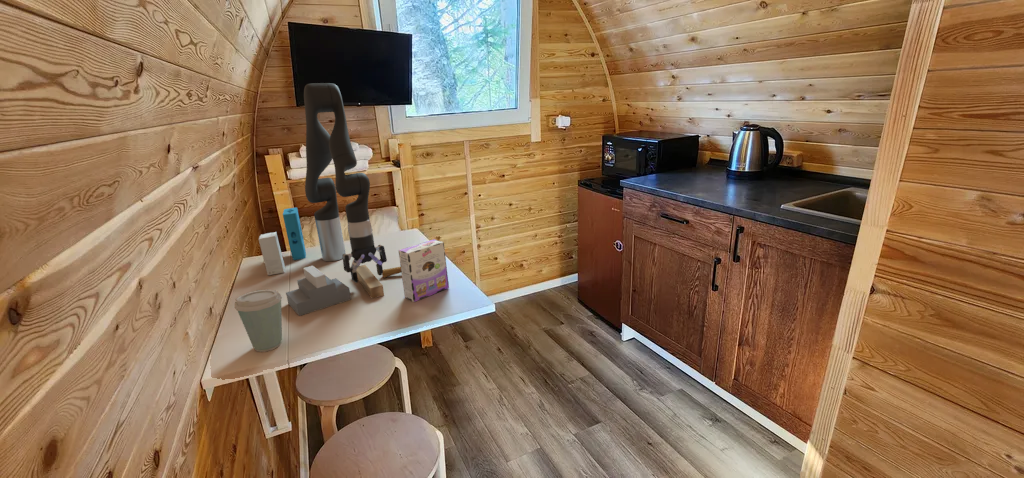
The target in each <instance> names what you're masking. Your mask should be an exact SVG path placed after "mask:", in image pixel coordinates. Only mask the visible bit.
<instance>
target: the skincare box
mask: <svg viewBox="0 0 1024 478" xmlns="http://www.w3.org/2000/svg"><path fill="white" fill-rule="evenodd" d="M258 243H259V247H260V251H261V255H262V258H263V262H264V267H265V270H266V274H267V276H272V275H279V274H283V273H285V268H286V266H285V265H286V264H285V261H284V258H283V257H284V256H283V254H282V250H281V249H282V248H281V246H280V245H281V244H280V242H279V237H278V233H277V231H275V232H274V231H273V232H267V233H262V234H260V235H259V237H258Z"/></svg>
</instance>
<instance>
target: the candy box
mask: <svg viewBox="0 0 1024 478" xmlns="http://www.w3.org/2000/svg"><path fill="white" fill-rule="evenodd" d="M398 257H399V263H400V267H401V278H402V286H403V293H404V298H406V299H407V300H410V301H411V302H413V303H415V302H417V301H420V300H422V299H425V298H428V297H430V296H432V295H436V294H437V293H440V292H442V291H445V290H447V289H449V288H450V285H449V284H450V283H449V275H448V269H447V259H446V251H445V243H444V241H441V240H437V239H431V240H428V241H424V242H421V243H418V244H414V245H411V246H408V247H405V248H401V249H398Z"/></svg>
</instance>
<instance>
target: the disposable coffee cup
mask: <svg viewBox="0 0 1024 478" xmlns="http://www.w3.org/2000/svg"><path fill="white" fill-rule="evenodd" d="M282 298H283V297H282V294H281V293H280V292H278V291H277V290H276V289H259V290H254V291H250V292H246V293H244V294H240V295H239V296H238V297H237V298H235V302H234V309H235V310H236V311H237V313H238V316H239V317H240V320H241V322H242V325H243V328H244V329H245V332H246V334H247V336H248V338H249V341H250V343H251V346H252V347H253V349H254V350H255V351H256V352H259V353H263V352H271V351H272V350H274V349H277V348H279V347H280V346H281V344H282V341H283V326H282V325H283V324H282Z"/></svg>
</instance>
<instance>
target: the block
mask: <svg viewBox="0 0 1024 478" xmlns="http://www.w3.org/2000/svg"><path fill="white" fill-rule="evenodd" d="M282 217H283V222H284V223H283V224H284V227H285V232H286V237H287V240H288V245H289V246H288V247H289V250H290V254H291V257H292V261H297V260H298V261H299V260H302V259H303V260H305V259H306V258H307V253H306V247H305V239H304V235H303V229H302V225H301V224H302V223H301V220H300V216H299V209H298V207H290V208H284V209H283V212H282Z"/></svg>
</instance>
